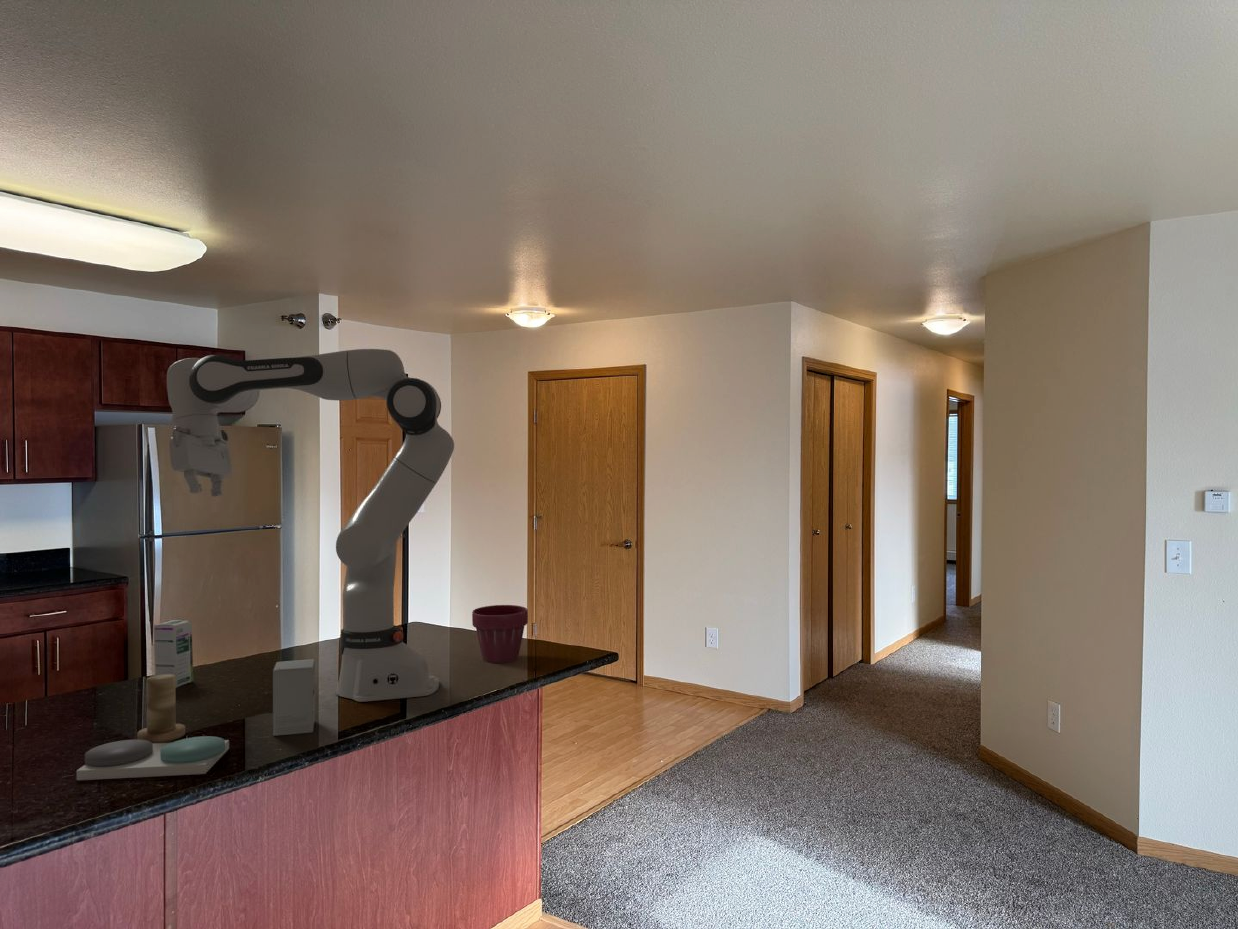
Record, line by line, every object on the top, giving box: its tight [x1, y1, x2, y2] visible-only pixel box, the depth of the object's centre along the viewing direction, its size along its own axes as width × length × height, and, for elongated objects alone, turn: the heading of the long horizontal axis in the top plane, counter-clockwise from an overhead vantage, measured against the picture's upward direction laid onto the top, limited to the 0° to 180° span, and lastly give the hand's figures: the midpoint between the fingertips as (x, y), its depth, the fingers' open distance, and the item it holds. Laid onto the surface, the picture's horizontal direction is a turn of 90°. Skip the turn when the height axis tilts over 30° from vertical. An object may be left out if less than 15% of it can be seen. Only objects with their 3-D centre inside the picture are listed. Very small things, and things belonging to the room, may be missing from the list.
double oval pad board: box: [76, 735, 230, 781], centre depth 145 cm, size 22×12×3 cm, turn 97°
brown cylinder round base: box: [136, 674, 186, 744], centre depth 159 cm, size 8×8×11 cm
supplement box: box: [272, 658, 316, 737], centre depth 164 cm, size 7×7×13 cm
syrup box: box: [153, 619, 194, 689], centre depth 196 cm, size 6×6×14 cm
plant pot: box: [471, 604, 529, 664], centre depth 218 cm, size 14×14×13 cm
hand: (207, 494), depth 181 cm, fingers open, 8 cm apart
